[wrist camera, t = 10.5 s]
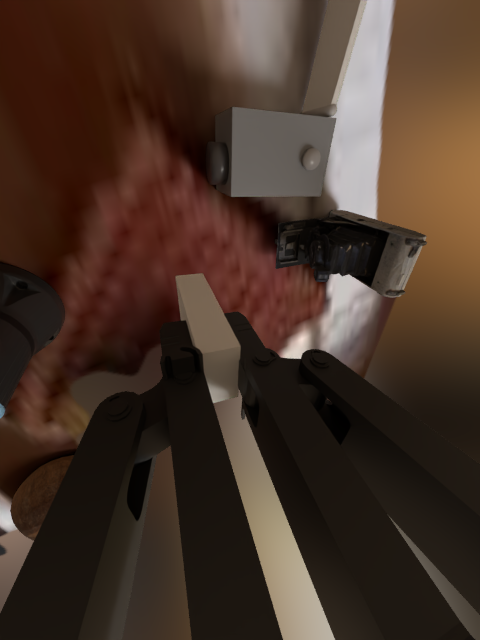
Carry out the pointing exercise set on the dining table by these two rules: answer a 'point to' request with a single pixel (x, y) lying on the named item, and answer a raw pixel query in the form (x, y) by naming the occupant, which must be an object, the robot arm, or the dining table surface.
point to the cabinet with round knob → (269, 153)
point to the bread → (37, 496)
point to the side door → (333, 56)
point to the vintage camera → (351, 249)
